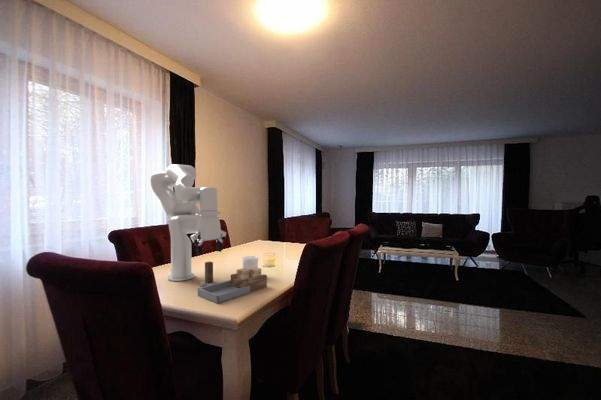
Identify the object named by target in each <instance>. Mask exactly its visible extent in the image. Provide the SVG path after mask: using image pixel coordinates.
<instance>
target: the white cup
mask: <svg viewBox="0 0 601 400" xmlns="http://www.w3.org/2000/svg"><path fill="white" fill-rule="evenodd" d="M258 266H259V256H256V255H249V256H243V257H242V268H245V269H251V268H255V267H256V268H259V267H258Z"/></svg>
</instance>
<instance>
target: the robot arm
mask: <svg viewBox="0 0 601 400" xmlns="http://www.w3.org/2000/svg"><path fill="white" fill-rule="evenodd" d="M196 177H197V171H196V168H195V167H194V166H192V165H188V164H179V163H177V164H175V163H173V164H170V165H169V166H168V167H166V169H165V171H164V170H160V171H155V172H153V173H152V174H151V177H150V185H151V189H152V191H153V193H154V194H155V196H156V197H157V198H158V199H159V202H160V204H161V206H162V208H163V210H164V212H165V214H166V216H167V217H168V218H170V219H169V220H168V229H169V234H170V270H169V271H170V274H169V275H168V276H167V280H168V281H171V282H182V281H187V280H192V279H194V278H195V276H196V274H195V273H194V272H192V268H193V267H192V244H194V245H195V246H196V254H197V255H199V256H202V255H203V245H202V244H203V243H204V242H205V241H214V240H215V241H216V242H215V243H216V244H215V249H216V250H215V251H216V252H219V253H221V252H223V251H222V250H223V247H222V245H223V242H224V240H225V238H226V236H227V232H226V231H224V230H222V228H221V227H222V226H221V222H220V218H219V217H218V216H219V215H220V211H218V210H219V209H218V189H217V188H216V187H213V186H204V187H195V186H194V183H195V180H196ZM171 188H174V190H173V189H171ZM197 204H199V207H198V205H197ZM188 234H192V235H190V237H189V236H188Z"/></svg>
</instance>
